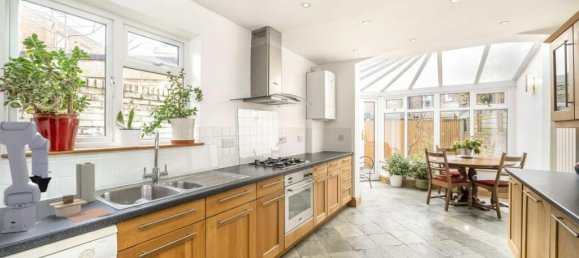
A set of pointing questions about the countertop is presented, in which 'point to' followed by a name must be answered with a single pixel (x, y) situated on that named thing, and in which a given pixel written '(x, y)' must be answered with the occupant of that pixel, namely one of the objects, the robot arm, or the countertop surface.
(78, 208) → the bowl
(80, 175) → the paper towel roll
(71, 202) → the lid
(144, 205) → the countertop surface
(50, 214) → the countertop surface
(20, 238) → the countertop surface
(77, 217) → the mat
